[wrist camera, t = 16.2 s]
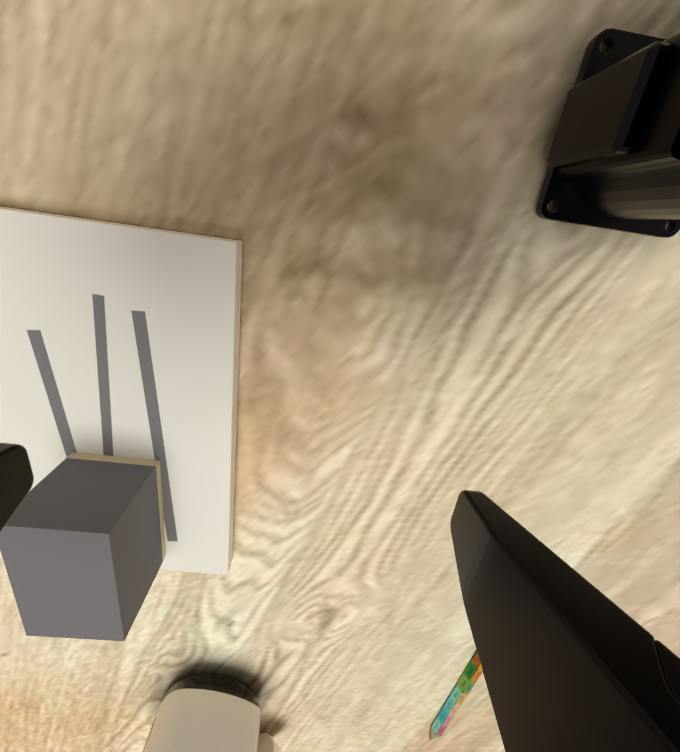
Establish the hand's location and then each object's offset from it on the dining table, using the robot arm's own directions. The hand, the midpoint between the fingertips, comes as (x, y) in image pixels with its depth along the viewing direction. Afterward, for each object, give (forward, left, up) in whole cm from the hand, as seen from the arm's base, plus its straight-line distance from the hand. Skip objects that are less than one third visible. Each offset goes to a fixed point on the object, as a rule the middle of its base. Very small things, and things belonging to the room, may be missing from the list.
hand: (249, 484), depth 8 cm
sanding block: (+9, +11, -10) cm, 18 cm away
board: (+9, +6, -12) cm, 16 cm away
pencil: (-17, +28, -12) cm, 35 cm away
